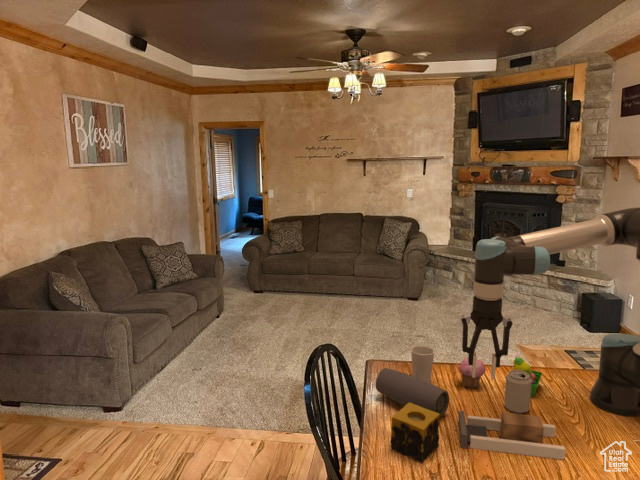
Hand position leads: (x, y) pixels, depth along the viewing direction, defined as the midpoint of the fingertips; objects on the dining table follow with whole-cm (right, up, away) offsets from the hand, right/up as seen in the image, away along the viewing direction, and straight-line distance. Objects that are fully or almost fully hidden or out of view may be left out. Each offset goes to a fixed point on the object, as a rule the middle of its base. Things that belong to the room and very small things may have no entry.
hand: (483, 376), depth 135 cm
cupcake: (+7, -13, +34) cm, 37 cm away
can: (+17, -16, +19) cm, 30 cm away
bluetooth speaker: (-16, -16, +20) cm, 30 cm away
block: (+11, -19, +1) cm, 22 cm away
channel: (+9, -19, +1) cm, 21 cm away
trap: (-1, -18, +3) cm, 19 cm away
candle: (-19, -20, -1) cm, 28 cm away
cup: (-9, -13, +37) cm, 40 cm away
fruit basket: (+25, -14, +31) cm, 42 cm away
